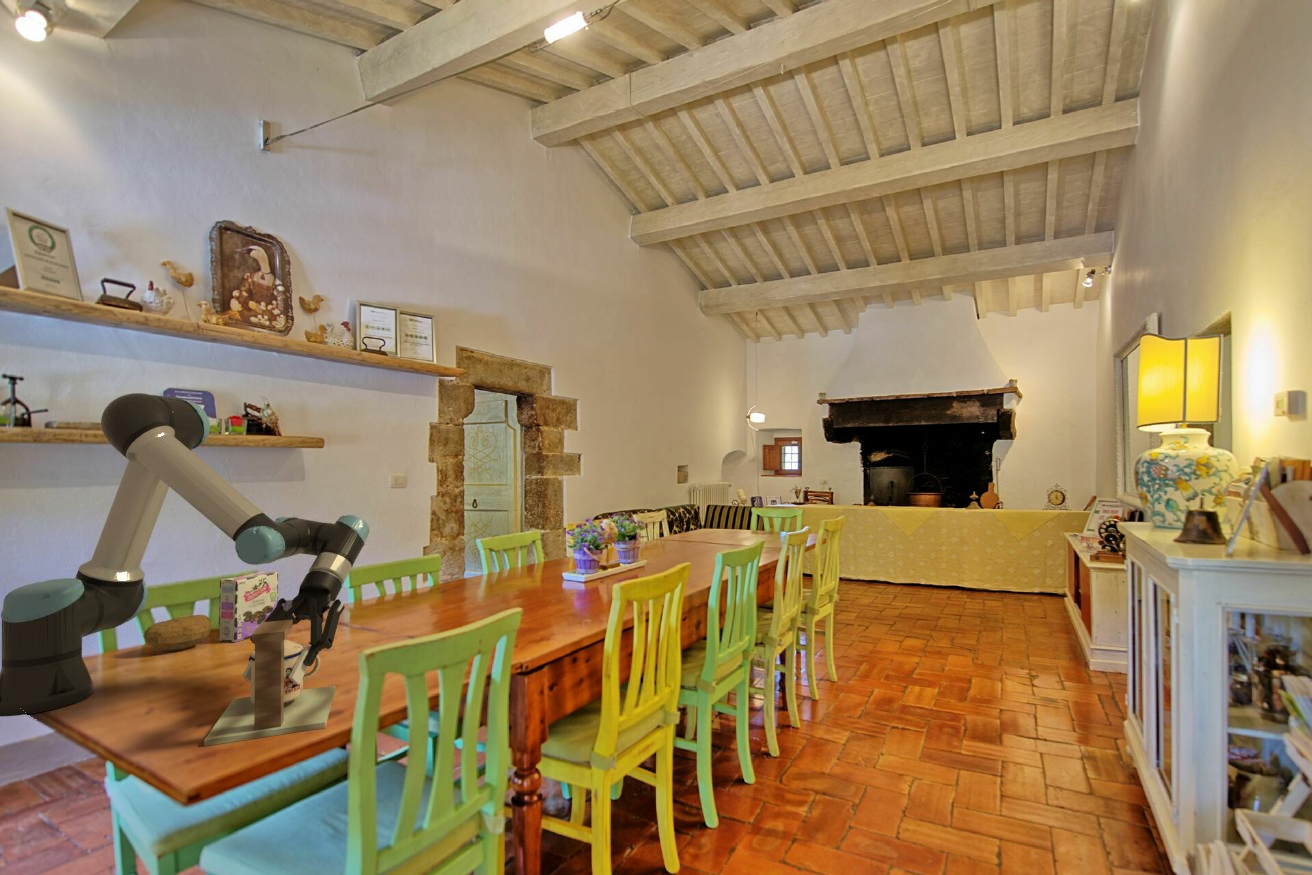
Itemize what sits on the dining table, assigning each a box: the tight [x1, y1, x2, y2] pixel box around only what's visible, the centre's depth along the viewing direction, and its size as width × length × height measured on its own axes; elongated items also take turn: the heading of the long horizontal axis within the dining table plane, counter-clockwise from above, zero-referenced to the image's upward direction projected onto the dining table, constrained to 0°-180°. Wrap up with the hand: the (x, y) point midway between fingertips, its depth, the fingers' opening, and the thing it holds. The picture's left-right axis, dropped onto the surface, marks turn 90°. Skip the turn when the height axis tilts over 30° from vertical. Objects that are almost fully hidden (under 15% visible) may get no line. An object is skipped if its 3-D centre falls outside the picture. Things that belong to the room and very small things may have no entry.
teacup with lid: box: [249, 639, 321, 703], centre depth 123 cm, size 12×9×12 cm
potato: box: [143, 614, 212, 652], centre depth 162 cm, size 10×14×8 cm
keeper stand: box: [203, 620, 337, 747], centre depth 119 cm, size 18×20×18 cm
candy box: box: [218, 570, 279, 643], centre depth 175 cm, size 14×6×16 cm, turn 165°
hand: (270, 679), depth 120 cm, fingers closed on teacup with lid, 9 cm apart
